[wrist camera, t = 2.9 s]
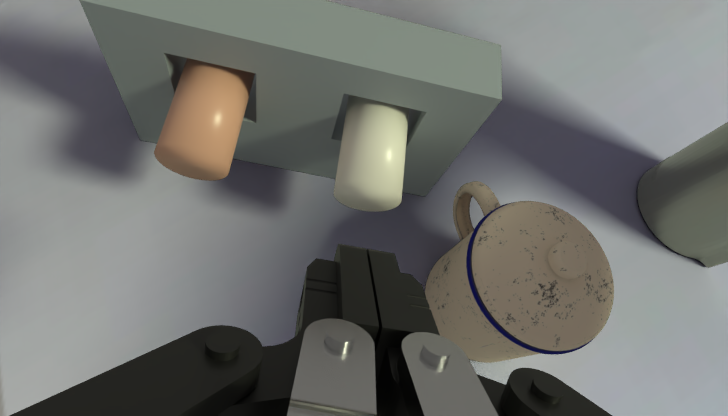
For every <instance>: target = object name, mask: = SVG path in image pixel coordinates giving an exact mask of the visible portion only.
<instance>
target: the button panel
mask: <svg viewBox="0 0 728 416" xmlns="http://www.w3.org/2000/svg"><path fill="white" fill-rule="evenodd" d="M80 3H81V5H82V7H83V9H84V12H85V14H86V16H87V19H88V21H89V23H90V26H91V28H92V30H93V32H94V35H95V37H96V39H97V42H98V44H99V46H100V49H101V51H102V53H103V55H104V58H105V60H106V62H107V65H108V67H109V69H110V72H111V74H112V76H113V78H114V81H115V83H116V85H117V88H118V90H119V92H120V94H121V97H122V99H123V101H124V104H125V106H126V108H127V111H128V113H129V115H130V117H131V120H132V122H133V124H134V127H135V129H136V131H137V134H138V136H139V138H140V140H142V141H147V142H152V143H157V142H158V139H159V137H160V134H161V131H162V128H163V125H164V122H165V120H166V117H167V114H168V111H169V108H170V105H171V103H172V100H173V97H174V94H175V91H176V88H177V85H178V83H179V80H180V77H181V74H182V71H183V68H184V66H185V63H186V60H187V58H189V59H194V60H198V61H203V62H207V63H212V64H216V65H220V66H225V67H229V68H234V69H238V70H243V71H247V72H251V73H255V76H254V80H253V84H252V88H251V91H250V95H249V99H248V103H247V106H246V110H245V114H244V118H243V121H242V125H241V129H240V133H239V136H238V140H237V144H236V148H235V151H234V155H233V159H238V160H243V161H248V162H253V163H258V164H263V165H268V166H273V167H278V168H283V169H288V170H293V171H298V172H303V173H308V174H313V175H318V176H324V177H329V178H334V179H336V173H337V167H338V160H339V154H340V147H341V141H342V135H343V128H344V122H345V115H346V109H347V102H348V96H349V95H353V96H358V97H362V98H366V99H371V100H375V101H380V102H384V103H388V104H393V105H397V106H402V107H406V108H409V118H408V130H407V142H406V153H405V165H404V177H403V189H402V192H404V193H409V194H414V195H419V196H424V197H425V196H426V195H427V194H428V192H429V191H430V190H431V189H432V187H433V186H434V185H435V184H436V182H437V181H438V180H439V178H440V177H441V176H442V175H443V173H444V172H445V171H446V170H447V168H448V167H449V166H450V165H451V163H452V162H453V161H454V160H455V158H456V157H457V156H458V155H459V153H460V152H461V151H462V149H463V148H464V147H465V146H466V144H467V143H468V142H469V141H470V139H471V138H472V137H473V136H474V134H475V133H476V132H477V131H478V129H479V128H480V127H481V126H482V124H483V123H484V122H485V121H486V119H487V118H488V117H489V115H490V114H491V113H492V112H493V110H494V109H495V108H496V107H497V105H498V104H499V103H500V102H501V100H502V74H501V45H499V44H495V43H491V42H487V41H483V40H479V39H475V38H471V37H467V36H463V35H459V34H455V33H452V32H448V31H444V30H440V29H436V28H432V27H428V26H424V25H420V24H416V23H412V22H408V21H404V20H400V19H397V18H393V17H389V16H385V15H381V14H377V13H373V12H369V11H365V10H361V9H357V8H353V7H349V6H345V5H342V4H338V3H334V2H330V1H326V0H80Z"/></svg>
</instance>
